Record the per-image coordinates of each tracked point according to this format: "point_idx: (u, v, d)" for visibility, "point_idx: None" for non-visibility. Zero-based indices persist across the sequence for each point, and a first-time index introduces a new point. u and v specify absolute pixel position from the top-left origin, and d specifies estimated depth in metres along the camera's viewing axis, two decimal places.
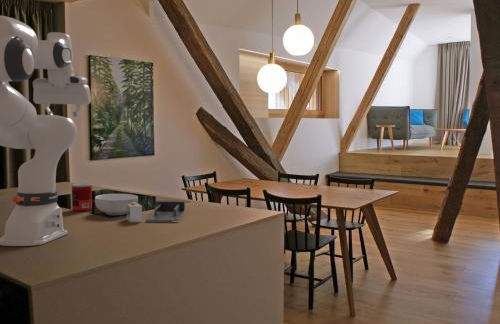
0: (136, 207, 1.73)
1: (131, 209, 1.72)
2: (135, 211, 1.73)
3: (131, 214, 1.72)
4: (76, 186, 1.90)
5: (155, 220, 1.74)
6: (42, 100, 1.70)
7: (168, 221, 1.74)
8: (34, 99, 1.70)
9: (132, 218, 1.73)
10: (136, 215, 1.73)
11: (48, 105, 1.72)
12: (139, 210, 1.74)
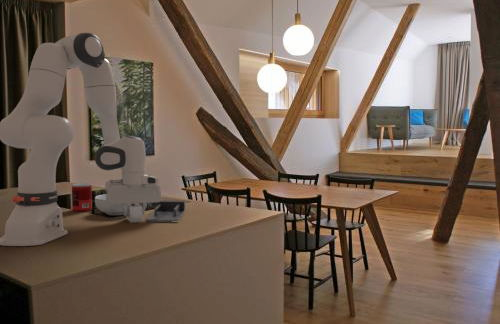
0: (136, 207, 1.73)
1: (131, 209, 1.72)
2: (135, 211, 1.73)
3: (131, 214, 1.72)
4: (76, 186, 1.90)
5: (155, 220, 1.74)
6: (117, 201, 1.71)
7: (168, 221, 1.74)
8: (108, 201, 1.70)
9: (132, 218, 1.73)
10: (136, 215, 1.73)
11: None
12: (139, 210, 1.74)
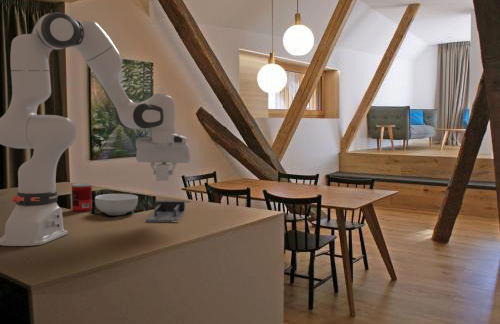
0: (162, 165, 1.73)
1: (157, 167, 1.73)
2: (161, 169, 1.73)
3: (157, 172, 1.73)
4: (76, 186, 1.90)
5: (155, 220, 1.74)
6: (145, 159, 1.74)
7: (168, 221, 1.74)
8: (137, 158, 1.74)
9: (158, 176, 1.73)
10: (162, 173, 1.73)
11: (154, 163, 1.76)
12: (165, 168, 1.73)
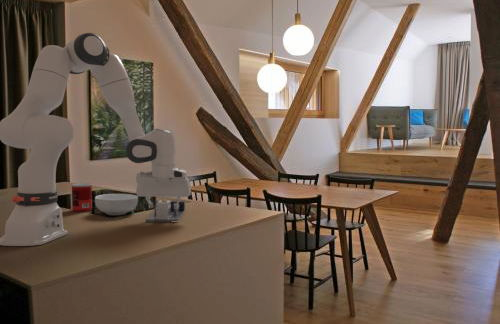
0: (162, 204, 1.74)
1: (157, 206, 1.74)
2: (161, 208, 1.74)
3: (157, 211, 1.74)
4: (76, 186, 1.90)
5: (155, 220, 1.74)
6: (145, 193, 1.75)
7: (168, 221, 1.74)
8: (137, 192, 1.75)
9: (158, 215, 1.74)
10: (162, 212, 1.74)
11: (149, 197, 1.77)
12: (165, 207, 1.74)
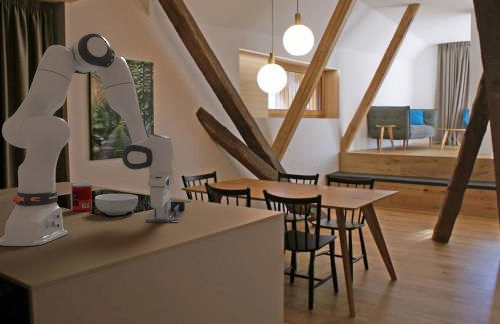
0: None
1: None
2: None
3: (157, 210, 1.74)
4: (76, 186, 1.90)
5: (155, 220, 1.74)
6: None
7: (168, 221, 1.74)
8: None
9: None
10: None
11: None
12: (165, 207, 1.74)
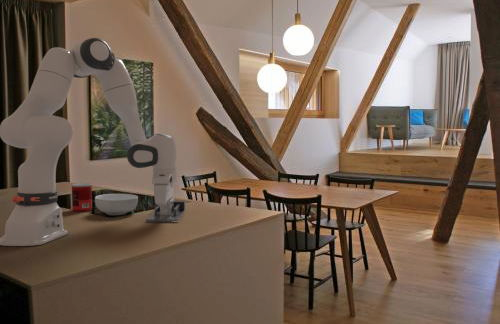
0: None
1: None
2: None
3: (161, 207, 1.81)
4: (76, 186, 1.90)
5: (155, 220, 1.74)
6: None
7: (168, 221, 1.74)
8: None
9: None
10: None
11: None
12: (168, 204, 1.81)
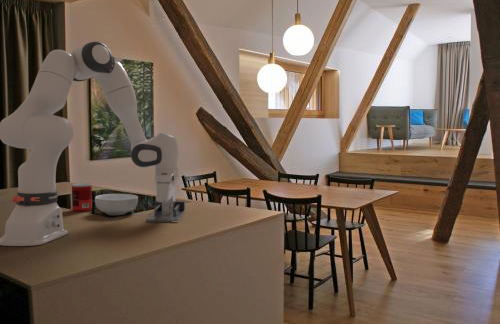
0: None
1: None
2: None
3: (163, 205, 1.85)
4: (76, 186, 1.90)
5: (155, 220, 1.74)
6: None
7: (168, 221, 1.74)
8: None
9: None
10: None
11: None
12: (170, 202, 1.85)
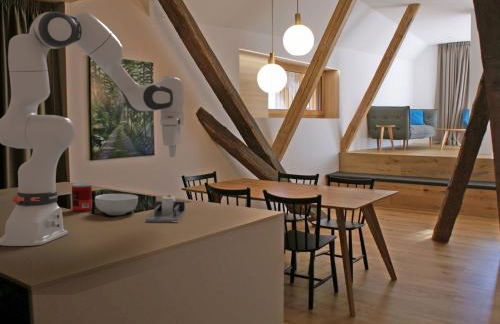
0: (167, 199, 1.85)
1: (163, 200, 1.85)
2: (166, 203, 1.85)
3: (163, 205, 1.85)
4: (76, 186, 1.90)
5: (155, 220, 1.74)
6: None
7: (168, 221, 1.74)
8: None
9: (163, 209, 1.85)
10: (167, 206, 1.85)
11: None
12: (170, 202, 1.85)
